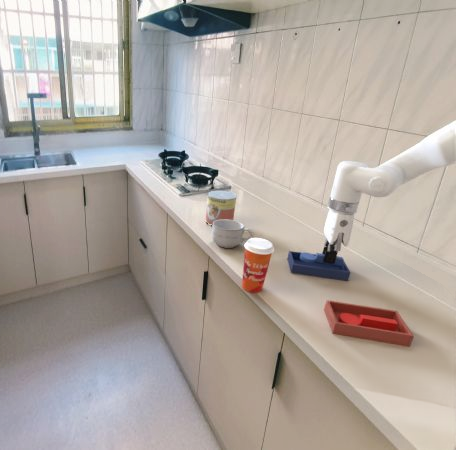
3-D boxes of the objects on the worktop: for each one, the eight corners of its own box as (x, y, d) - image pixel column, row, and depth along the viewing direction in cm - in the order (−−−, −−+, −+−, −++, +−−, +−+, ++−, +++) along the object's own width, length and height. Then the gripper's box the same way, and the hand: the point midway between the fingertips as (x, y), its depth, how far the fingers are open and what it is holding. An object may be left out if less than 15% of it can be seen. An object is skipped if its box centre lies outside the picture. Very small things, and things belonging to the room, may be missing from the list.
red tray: (393, 320, 84) (397, 310, 83) (409, 346, 76) (414, 336, 75) (323, 309, 87) (326, 300, 86) (332, 333, 79) (335, 323, 78)
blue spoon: (338, 261, 106) (341, 254, 105) (342, 268, 102) (345, 262, 101) (298, 254, 108) (300, 247, 107) (300, 261, 104) (303, 254, 103)
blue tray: (340, 265, 109) (342, 257, 108) (348, 281, 100) (350, 272, 99) (287, 258, 112) (289, 250, 111) (290, 273, 104) (292, 264, 102)
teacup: (205, 245, 119) (207, 224, 116) (218, 234, 127) (220, 215, 124) (242, 257, 112) (246, 235, 109) (254, 245, 120) (257, 225, 117)
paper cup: (236, 291, 94) (243, 246, 88) (240, 277, 100) (247, 234, 95) (265, 298, 91) (274, 252, 86) (267, 283, 98) (276, 240, 92)
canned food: (199, 221, 139) (202, 193, 134) (216, 215, 146) (219, 188, 141) (221, 230, 131) (225, 201, 126) (238, 223, 138) (242, 195, 133)
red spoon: (389, 323, 82) (392, 315, 81) (397, 336, 78) (401, 328, 77) (336, 315, 85) (338, 307, 84) (341, 327, 81) (343, 319, 80)
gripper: (366, 216, 89) (348, 275, 96) (349, 197, 103) (334, 251, 111) (335, 213, 91) (319, 272, 98) (323, 195, 105) (310, 247, 112)
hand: (327, 260), depth 104 cm, fingers closed on blue spoon, 1 cm apart
